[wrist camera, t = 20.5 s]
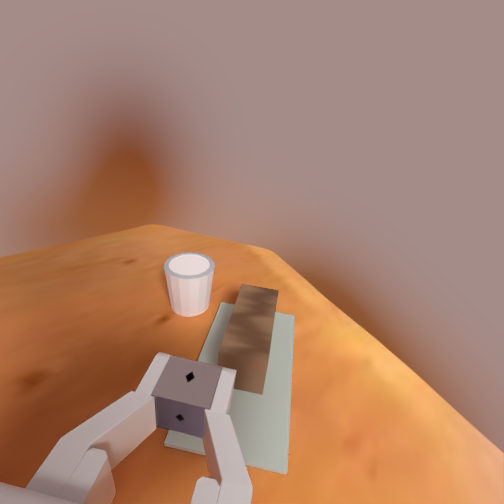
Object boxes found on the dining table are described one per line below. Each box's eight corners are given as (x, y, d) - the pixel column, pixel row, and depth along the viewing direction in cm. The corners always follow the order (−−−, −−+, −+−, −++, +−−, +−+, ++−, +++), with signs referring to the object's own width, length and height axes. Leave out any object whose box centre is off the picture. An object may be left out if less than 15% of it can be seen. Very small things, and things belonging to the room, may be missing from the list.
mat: (164, 445, 25) (163, 442, 25) (221, 304, 43) (221, 301, 43) (286, 474, 24) (287, 472, 24) (294, 318, 42) (294, 315, 41)
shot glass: (212, 288, 46) (213, 251, 42) (214, 318, 40) (216, 277, 37) (168, 290, 45) (165, 251, 41) (164, 320, 39) (160, 278, 35)
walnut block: (218, 352, 28) (241, 283, 39) (216, 385, 31) (239, 312, 41) (268, 362, 28) (278, 290, 38) (262, 394, 30) (273, 318, 40)
